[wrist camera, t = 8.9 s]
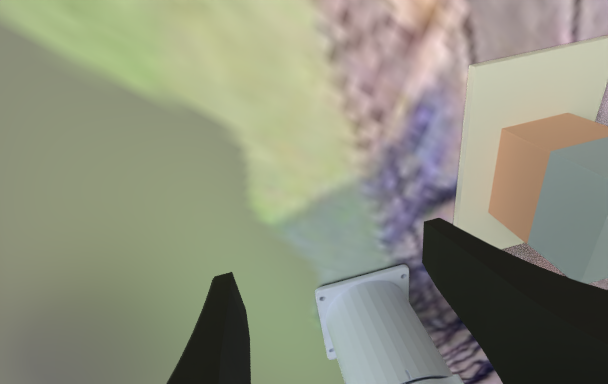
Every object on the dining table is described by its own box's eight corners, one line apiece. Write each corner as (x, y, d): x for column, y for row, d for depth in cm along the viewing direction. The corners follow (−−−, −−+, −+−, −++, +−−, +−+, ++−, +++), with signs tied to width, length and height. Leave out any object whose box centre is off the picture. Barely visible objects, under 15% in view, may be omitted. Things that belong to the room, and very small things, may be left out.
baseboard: (554, 229, 30) (559, 233, 30) (449, 257, 29) (453, 262, 29) (612, 33, 22) (622, 34, 21) (469, 65, 21) (475, 66, 20)
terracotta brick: (545, 197, 27) (591, 226, 24) (488, 212, 27) (526, 244, 23) (568, 112, 23) (626, 132, 20) (501, 128, 23) (550, 151, 20)
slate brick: (592, 225, 24) (653, 264, 20) (527, 243, 23) (579, 286, 20) (626, 132, 20) (709, 160, 17) (550, 151, 20) (619, 184, 16)
